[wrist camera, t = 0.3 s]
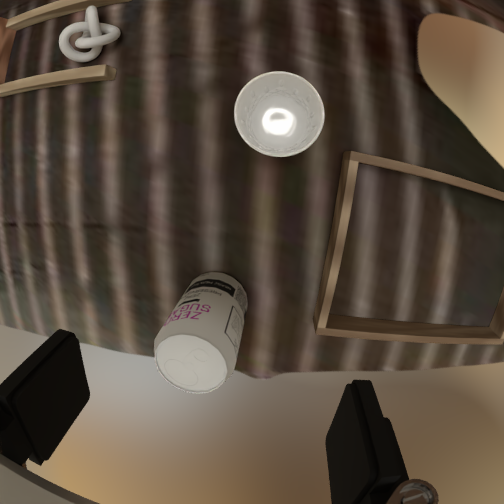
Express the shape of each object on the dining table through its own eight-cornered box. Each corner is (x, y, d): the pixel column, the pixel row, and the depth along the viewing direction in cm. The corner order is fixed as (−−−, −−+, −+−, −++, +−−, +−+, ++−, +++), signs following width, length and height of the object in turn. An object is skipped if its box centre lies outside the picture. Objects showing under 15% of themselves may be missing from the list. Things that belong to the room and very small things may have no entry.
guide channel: (13, 25, 32) (-5, 19, 27) (134, -8, 31) (119, -22, 26) (-3, 97, 36) (-23, 96, 31) (114, 79, 35) (96, 72, 30)
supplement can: (221, 336, 44) (198, 409, 30) (176, 297, 43) (133, 360, 29) (261, 299, 42) (252, 369, 28) (213, 257, 41) (180, 311, 26)
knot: (78, 25, 32) (56, 14, 27) (125, 7, 31) (106, -8, 26) (76, 68, 34) (53, 60, 29) (124, 51, 34) (104, 39, 28)
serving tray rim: (343, 151, 36) (351, 151, 32) (528, 203, 34) (544, 208, 31) (312, 318, 42) (315, 334, 38) (490, 332, 41) (502, 344, 37)
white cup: (233, 136, 36) (217, 129, 27) (266, 81, 34) (262, 56, 24) (291, 169, 37) (296, 173, 27) (324, 114, 35) (340, 99, 25)
